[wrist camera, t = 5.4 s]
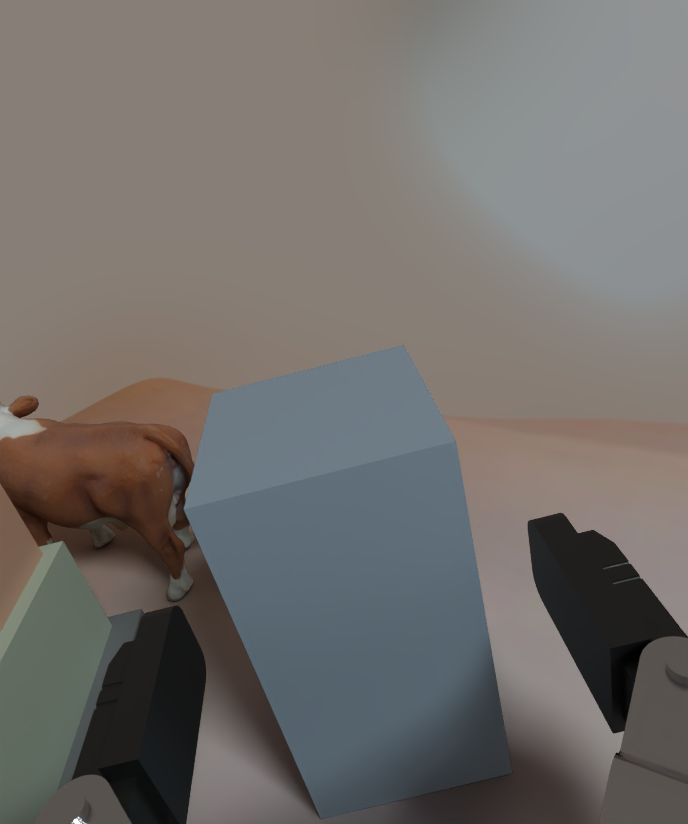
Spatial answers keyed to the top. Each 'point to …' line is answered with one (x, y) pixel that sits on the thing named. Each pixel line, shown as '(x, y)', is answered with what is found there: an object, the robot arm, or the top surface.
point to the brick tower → (46, 665)
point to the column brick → (353, 578)
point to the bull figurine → (99, 481)
